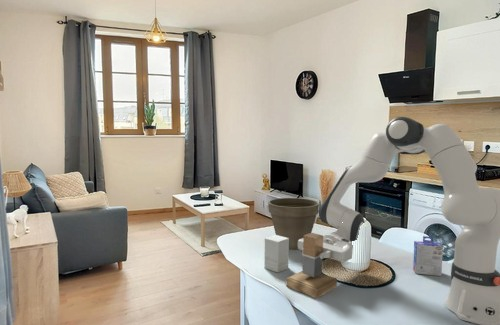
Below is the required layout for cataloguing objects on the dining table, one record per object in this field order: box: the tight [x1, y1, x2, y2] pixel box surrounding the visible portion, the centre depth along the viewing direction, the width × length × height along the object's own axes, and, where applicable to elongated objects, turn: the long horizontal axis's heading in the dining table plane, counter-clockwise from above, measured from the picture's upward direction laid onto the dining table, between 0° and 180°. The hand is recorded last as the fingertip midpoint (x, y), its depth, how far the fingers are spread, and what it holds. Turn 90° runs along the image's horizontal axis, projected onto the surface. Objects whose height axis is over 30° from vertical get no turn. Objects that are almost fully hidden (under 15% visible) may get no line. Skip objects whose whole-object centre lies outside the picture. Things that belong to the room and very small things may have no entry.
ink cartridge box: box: [412, 235, 444, 277], centre depth 141 cm, size 10×6×14 cm, turn 78°
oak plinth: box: [285, 270, 338, 299], centre depth 126 cm, size 13×13×3 cm
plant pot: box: [267, 197, 320, 250], centre depth 173 cm, size 25×25×22 cm
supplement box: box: [263, 234, 290, 273], centre depth 143 cm, size 7×7×13 cm
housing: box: [301, 232, 324, 277], centre depth 125 cm, size 5×5×14 cm
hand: (311, 253), depth 125 cm, fingers closed on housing, 5 cm apart
